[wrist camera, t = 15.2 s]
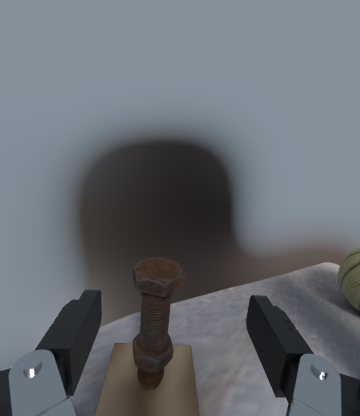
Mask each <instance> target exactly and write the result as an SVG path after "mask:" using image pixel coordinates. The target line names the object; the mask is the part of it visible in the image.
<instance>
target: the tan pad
mask: <svg viewBox="0 0 360 416" xmlns="http://www.w3.org/2000/svg"><path fill="white" fill-rule="evenodd" d="M137 372H138V367H136V366H135V363H134V356H133V344H126V343H115V344H114V347H113V351H112V355H111V358H110V362H109V365H108V369H107V372H106V376H105V380H104V383H103V387H102V390H101V394H100V397H99V401H98V404H97V408H96V412H95V415H94V416H199V408H198V400H197V392H196V384H195V375H194V367H193V359H192V351H191V345H173V358H172V359H171V361H170V362H169V363H168V364H167V365H166V366H165V367H164V375H163V379H162V380H161V382H160V384H159V386H158V387H157V388H155V389H154V388H153V386H152V387H151V389H149V390H148V389H145V388H143V387H142V386H141V385H140V383H139V381H138V375H137V374H138V373H137Z"/></svg>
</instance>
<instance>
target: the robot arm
mask: <svg viewBox="0 0 360 416" xmlns="http://www.w3.org/2000/svg"><path fill="white" fill-rule="evenodd" d="M101 315H102V311H101V291H100V290H84V292H83V294H82V295H81V297H80V299H79V300H72V301H70V302H69V303H68V304H66V305H65V306H64V307H63V309H62V310H61V311H60V313H59V315H58V317H57V318H56V319H55V321H54V323H53V324H52V325H51V327H50V328H49V330H48V331H47V333H46V334H45V336H44V337H43V339H42V340H41V342H40V343H39V345H38V346H37V348H36V349H35V351H32V352H30V353H28V354H26V355H25V356H23V357H21V358H20V359H19V360H18V361H16V362H15V364H14V365H13V366H12V368H10V369H7V370H3V371H0V416H76V414H75V411H74V408H73V404H72V402H71V399H70V397H67V396H73V395H74V392H75V389H76V387H77V384H78V382H79V379H80V377H81V374H82V371H83V369H84V366H85V364H86V361H87V359H88V356H89V353H90V351H91V348H92V346H93V343H94V341H95V338H96V335H97V333H98V330H99V327H100V324H101V317H102V316H101ZM246 325H247V330H248V333H249V336H250V338H251V340H252V343H253V345H254V347H255V350H256V352H257V354H258V357H259V359H260V361H261V364H262V366H263V368H264V371H265V373H266V375H267V378H268V380H269V382H270V385H271V387H272V389H273V392H274V394H275V396H276V397H286V399H287V401H288V403H289V404H288V408H287V412H286V416H360V379H356V378H353V377H350V376H346V375H343V374H340V373H338V371H337V370H336V368H335V367H334V366H333V365H332V364H331V363H330V362H328V361H327V360H325V359H324V358H322V357H320V356H318V355H315V354H314V353H313V352H312V350H311V349H310V347H309V346H308V345H307V343H306V342H305V340H304V339H303V338H302V336H301V335H300V333H299V332H298V330H296V328H295V326H294V325H293V323H291V320H290V319H289V318H288V316H287V315H286V313H285V312H283V311H282V310H281V309H280V308H278V307H277V306H273V305H272V304H271V302H270V301H269V299H268V298H267V296H257V295H252V296H251V297H250V301H249V307H248V313H247V319H246Z"/></svg>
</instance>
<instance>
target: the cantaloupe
mask: <svg viewBox="0 0 360 416" xmlns="http://www.w3.org/2000/svg"><path fill="white" fill-rule="evenodd" d="M338 283H339V286H340V289H341V291H342V292H343V294H344V296H345V298H346V299H347V301H348V302H349V303H350V304H351V305H352V306H353V307H354V308H355V309H357V310H358V311H360V248H358V249H356V250H354V251H352V252H351V253H349V254H348V255H347V256H346V257H345V258H344V260H343V262H342V264H341V265H340V268H339V272H338Z"/></svg>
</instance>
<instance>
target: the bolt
mask: <svg viewBox="0 0 360 416" xmlns="http://www.w3.org/2000/svg"><path fill="white" fill-rule="evenodd" d="M133 278H134V283H135V287H136V291H139V292H141V293H142V294H141V295H142V307H141V327H140V333H139V334H138V335H137V336H136V337H135V338H134V339H133V356H134V363H135V366H136V367H138V372H137V373H138V374H137V375H138V381H139V383H140V385H141V386H142V387H143V388H145V389H148V390H149V389H151V387H152V386H153V388H154V389H155V388H157V387H158V386H159V384H160V382H161V380H162V379H163V375H164V367H165V366H166V365H167V364H168V363H169V362H170V361H171V359H172V358H173V345H172V342H171V338H170V336H169V335H168V324H169V313H170V302H171V297H172V292H174V291H176V290H177V289H179V288H181V287H183V286H184V282H185V275H184V271H183V269H182V267H181V266H180V265H179V264H178V263H176V262H174V261H172V260H169V259H167V258H149V259H144V260H142V261H140V262H139V263H137V264H136V265H135V266H133Z"/></svg>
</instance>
